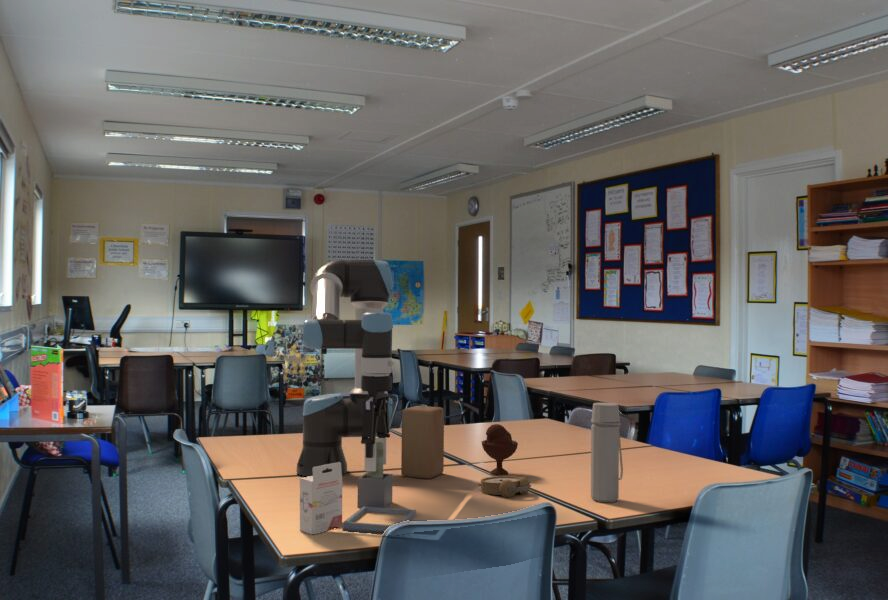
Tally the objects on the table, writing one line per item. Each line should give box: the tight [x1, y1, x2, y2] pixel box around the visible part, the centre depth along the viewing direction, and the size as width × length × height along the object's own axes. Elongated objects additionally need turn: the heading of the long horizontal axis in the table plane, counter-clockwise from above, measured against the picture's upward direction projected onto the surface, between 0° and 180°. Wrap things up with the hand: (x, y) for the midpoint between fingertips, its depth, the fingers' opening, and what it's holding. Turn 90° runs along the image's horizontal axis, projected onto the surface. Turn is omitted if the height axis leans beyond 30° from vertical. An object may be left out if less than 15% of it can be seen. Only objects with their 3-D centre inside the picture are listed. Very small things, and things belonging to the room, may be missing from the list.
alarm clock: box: [477, 475, 532, 499], centre depth 199 cm, size 11×5×15 cm
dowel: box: [366, 442, 384, 479], centre depth 181 cm, size 4×4×15 cm
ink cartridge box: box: [299, 462, 343, 535], centre depth 164 cm, size 9×5×15 cm, turn 138°
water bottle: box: [590, 402, 624, 503], centre depth 193 cm, size 9×8×25 cm
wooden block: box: [400, 405, 445, 480], centre depth 220 cm, size 10×10×20 cm
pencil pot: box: [356, 472, 394, 509], centre depth 181 cm, size 7×7×8 cm
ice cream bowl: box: [481, 423, 519, 476], centre depth 223 cm, size 11×11×15 cm
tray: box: [342, 506, 417, 536], centre depth 167 cm, size 13×14×2 cm
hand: (375, 467), depth 181 cm, fingers open, 8 cm apart
